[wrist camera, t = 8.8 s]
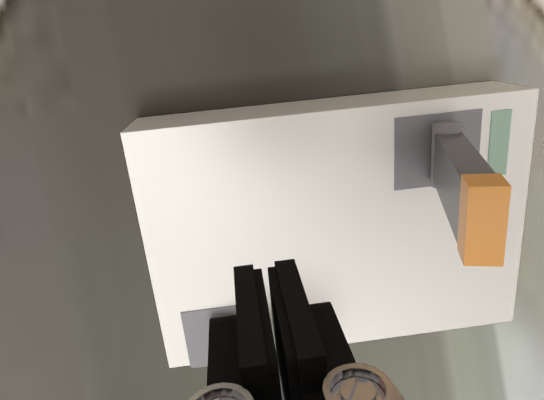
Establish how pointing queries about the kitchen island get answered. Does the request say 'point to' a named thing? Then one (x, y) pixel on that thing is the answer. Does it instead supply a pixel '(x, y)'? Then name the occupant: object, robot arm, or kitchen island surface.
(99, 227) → the kitchen island surface
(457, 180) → the lever
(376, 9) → the kitchen island surface
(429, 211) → the panel
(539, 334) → the kitchen island surface
